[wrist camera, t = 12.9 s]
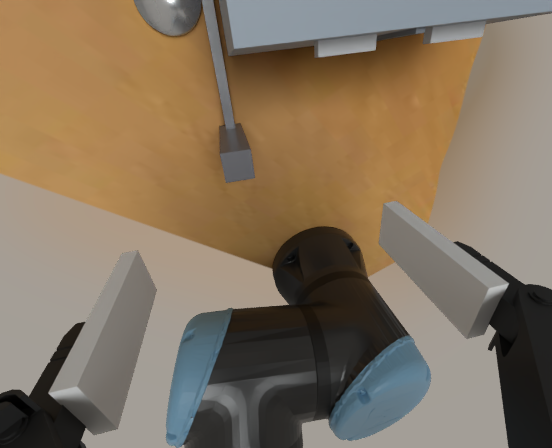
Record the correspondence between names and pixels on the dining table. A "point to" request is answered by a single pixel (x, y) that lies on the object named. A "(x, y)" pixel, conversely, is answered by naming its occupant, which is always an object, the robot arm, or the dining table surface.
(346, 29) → the cabinet
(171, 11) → the steel token
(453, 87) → the dining table surface
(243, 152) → the l-shaped tool
